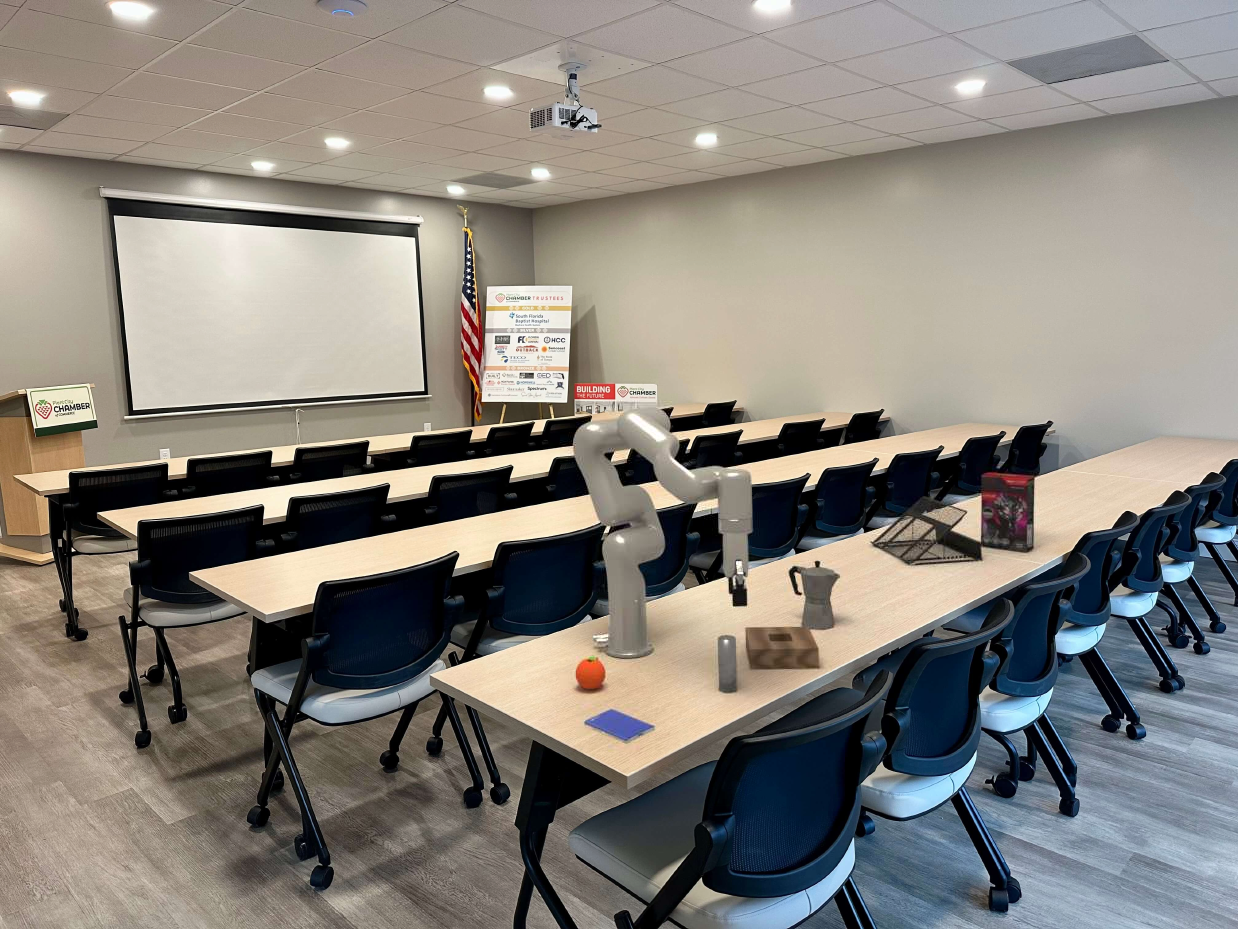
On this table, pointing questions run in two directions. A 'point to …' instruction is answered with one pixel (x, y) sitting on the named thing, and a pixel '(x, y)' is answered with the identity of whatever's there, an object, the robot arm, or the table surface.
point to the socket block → (781, 648)
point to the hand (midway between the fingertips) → (737, 599)
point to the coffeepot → (816, 595)
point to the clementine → (590, 673)
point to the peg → (727, 664)
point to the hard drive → (619, 725)
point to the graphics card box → (1007, 511)
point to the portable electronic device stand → (942, 532)
